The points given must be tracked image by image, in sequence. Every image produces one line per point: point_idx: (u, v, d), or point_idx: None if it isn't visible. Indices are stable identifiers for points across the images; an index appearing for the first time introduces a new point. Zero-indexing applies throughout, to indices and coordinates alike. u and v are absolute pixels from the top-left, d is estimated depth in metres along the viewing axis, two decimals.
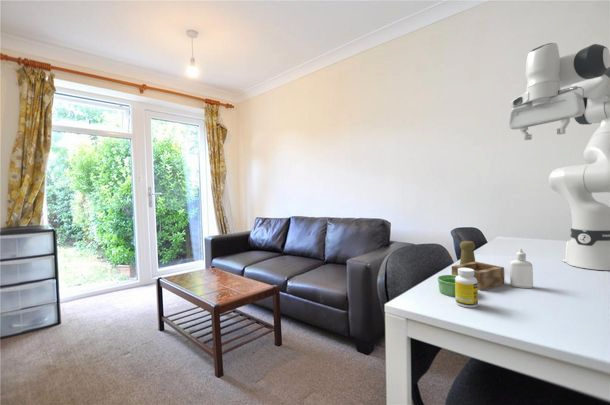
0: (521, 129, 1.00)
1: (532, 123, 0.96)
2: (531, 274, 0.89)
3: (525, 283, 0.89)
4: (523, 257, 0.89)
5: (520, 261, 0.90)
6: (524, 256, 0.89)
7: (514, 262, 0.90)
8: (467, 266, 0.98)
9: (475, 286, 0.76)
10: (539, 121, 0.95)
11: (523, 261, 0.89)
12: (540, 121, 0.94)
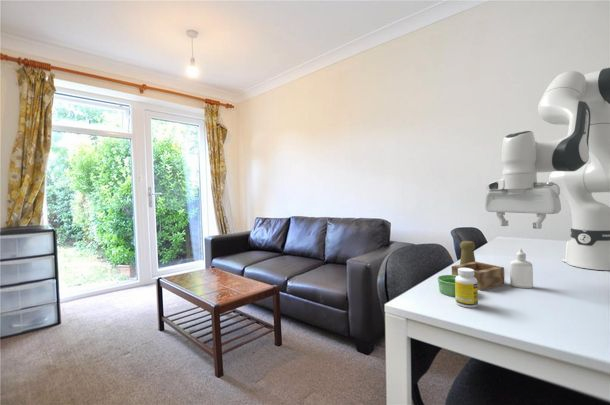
0: (497, 214, 0.95)
1: (508, 211, 0.92)
2: (531, 274, 0.89)
3: (525, 283, 0.89)
4: (523, 257, 0.89)
5: (520, 261, 0.90)
6: (524, 256, 0.89)
7: (514, 262, 0.90)
8: (467, 266, 0.98)
9: (475, 286, 0.76)
10: (515, 211, 0.90)
11: (523, 261, 0.89)
12: (516, 211, 0.89)
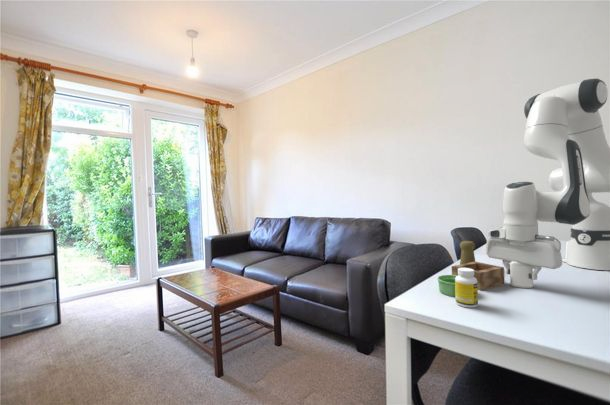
0: (503, 262, 0.94)
1: (509, 260, 0.92)
2: None
3: (525, 283, 0.89)
4: None
5: None
6: None
7: (514, 262, 0.90)
8: (467, 266, 0.98)
9: (475, 286, 0.76)
10: (516, 261, 0.90)
11: None
12: (517, 261, 0.90)
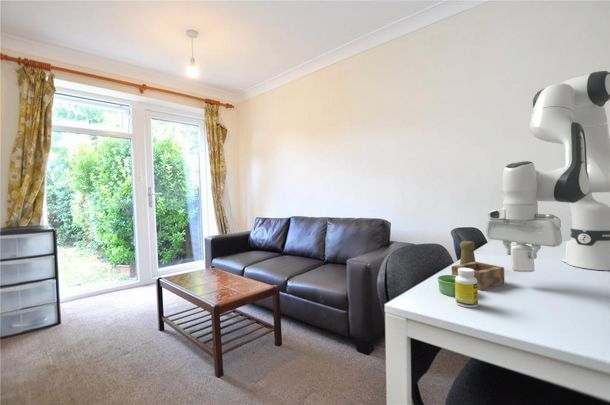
0: (504, 243, 0.94)
1: (509, 240, 0.92)
2: None
3: (527, 267, 0.89)
4: None
5: (521, 245, 0.89)
6: None
7: (515, 247, 0.90)
8: (467, 266, 0.98)
9: (475, 286, 0.76)
10: (516, 241, 0.90)
11: (524, 245, 0.89)
12: (517, 241, 0.90)
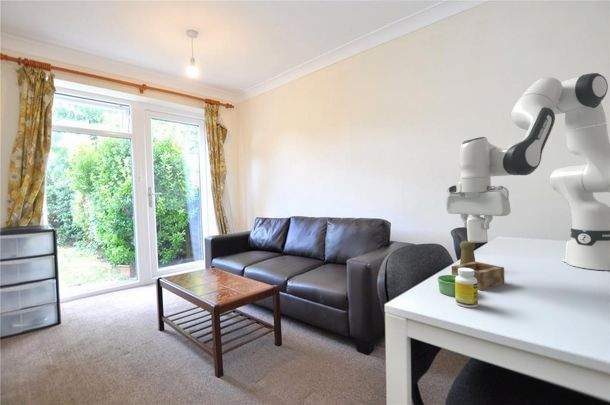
0: (461, 216, 0.99)
1: (465, 213, 0.97)
2: (485, 229, 0.93)
3: (480, 238, 0.93)
4: None
5: (475, 217, 0.94)
6: None
7: (470, 219, 0.95)
8: (467, 266, 0.98)
9: (475, 286, 0.76)
10: (471, 213, 0.95)
11: (478, 217, 0.94)
12: (472, 213, 0.94)
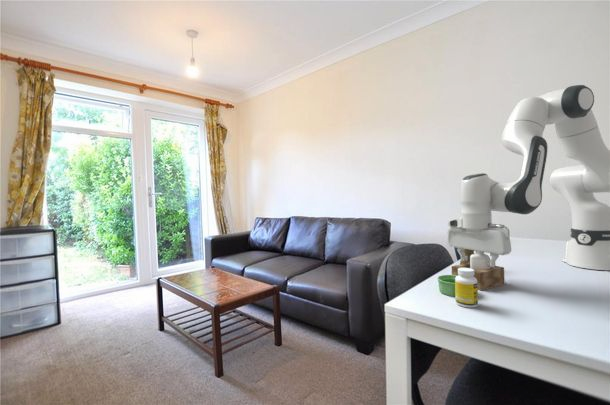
0: (458, 249, 1.01)
1: (466, 248, 0.97)
2: (489, 267, 0.93)
3: None
4: None
5: (479, 255, 0.93)
6: None
7: (474, 256, 0.94)
8: (467, 266, 0.98)
9: (475, 286, 0.76)
10: (472, 248, 0.95)
11: (482, 255, 0.93)
12: (473, 249, 0.95)
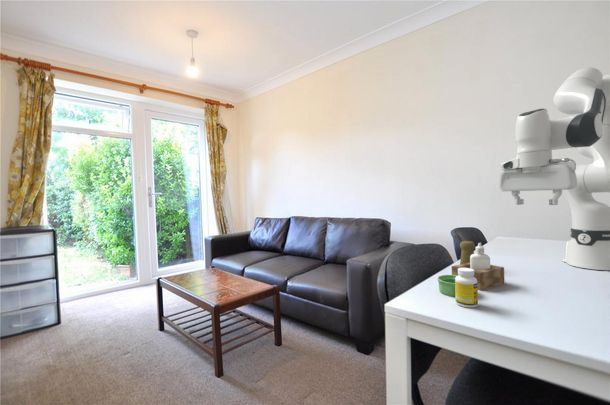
0: (512, 193, 0.96)
1: (523, 189, 0.92)
2: (489, 267, 0.93)
3: None
4: (482, 251, 0.93)
5: (479, 255, 0.93)
6: (483, 249, 0.93)
7: (474, 256, 0.94)
8: (467, 266, 0.98)
9: (475, 286, 0.76)
10: (530, 189, 0.91)
11: (482, 255, 0.93)
12: (531, 189, 0.90)
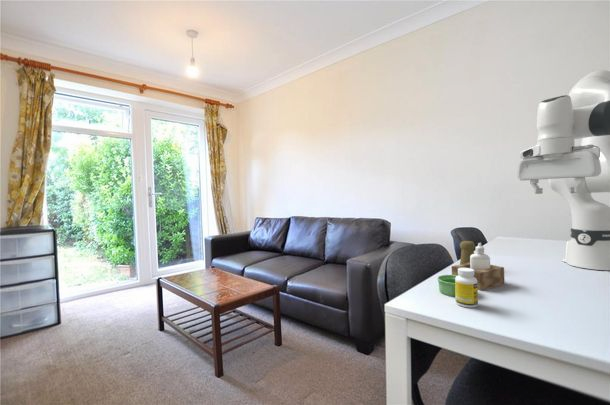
0: (531, 182, 0.94)
1: (543, 178, 0.91)
2: (489, 267, 0.93)
3: None
4: (482, 251, 0.93)
5: (479, 255, 0.93)
6: (483, 249, 0.93)
7: (474, 256, 0.94)
8: (467, 266, 0.98)
9: (475, 286, 0.76)
10: (551, 177, 0.89)
11: (482, 255, 0.93)
12: (552, 177, 0.89)
